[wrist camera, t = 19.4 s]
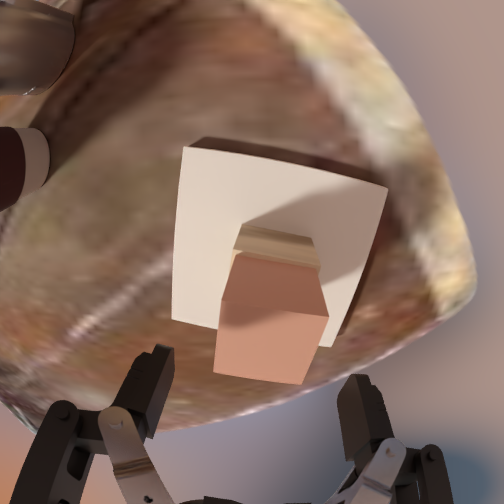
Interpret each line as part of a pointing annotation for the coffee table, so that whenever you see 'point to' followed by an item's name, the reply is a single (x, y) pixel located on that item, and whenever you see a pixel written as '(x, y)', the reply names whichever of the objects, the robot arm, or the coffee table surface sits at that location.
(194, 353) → the coffee table surface
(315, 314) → the terracotta block
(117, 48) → the coffee table surface
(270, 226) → the base plate
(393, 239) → the coffee table surface
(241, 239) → the maple block
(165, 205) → the coffee table surface
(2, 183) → the coffee cup
